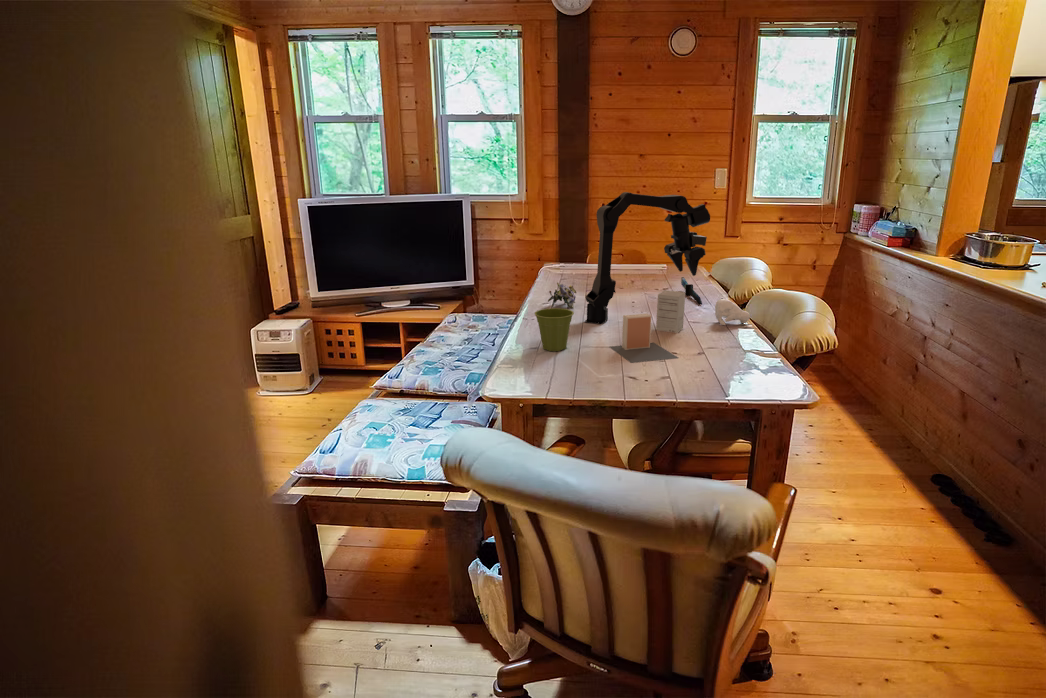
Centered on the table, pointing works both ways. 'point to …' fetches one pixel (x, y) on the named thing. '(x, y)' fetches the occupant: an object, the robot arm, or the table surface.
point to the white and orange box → (636, 331)
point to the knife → (690, 290)
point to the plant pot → (554, 327)
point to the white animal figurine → (730, 312)
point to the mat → (644, 353)
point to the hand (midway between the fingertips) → (687, 273)
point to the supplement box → (670, 311)
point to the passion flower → (564, 295)
